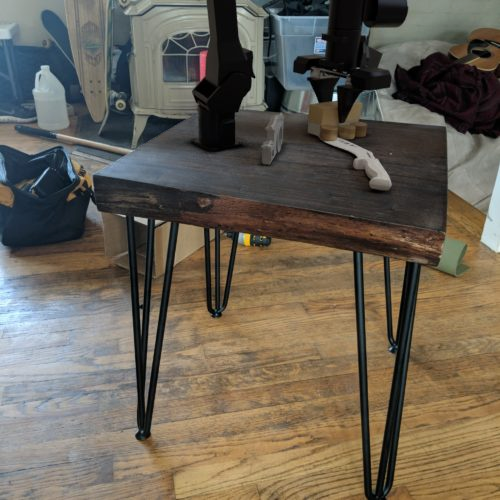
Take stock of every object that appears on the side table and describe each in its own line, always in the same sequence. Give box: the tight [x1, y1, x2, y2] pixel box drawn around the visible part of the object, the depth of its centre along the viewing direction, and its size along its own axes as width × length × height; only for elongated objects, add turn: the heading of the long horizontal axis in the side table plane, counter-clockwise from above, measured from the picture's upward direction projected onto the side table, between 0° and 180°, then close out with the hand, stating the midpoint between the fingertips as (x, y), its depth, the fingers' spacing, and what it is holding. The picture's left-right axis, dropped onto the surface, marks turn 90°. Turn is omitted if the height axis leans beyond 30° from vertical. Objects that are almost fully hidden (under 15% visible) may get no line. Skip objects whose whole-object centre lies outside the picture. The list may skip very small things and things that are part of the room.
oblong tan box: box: [307, 100, 363, 137], centre depth 94 cm, size 4×10×5 cm, turn 127°
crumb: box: [350, 121, 368, 138], centre depth 95 cm, size 3×3×2 cm
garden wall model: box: [260, 112, 286, 166], centre depth 82 cm, size 12×2×6 cm, turn 167°
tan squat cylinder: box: [319, 125, 338, 141], centre depth 90 cm, size 3×3×2 cm
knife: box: [317, 136, 392, 191], centre depth 83 cm, size 30×2×8 cm
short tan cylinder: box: [337, 124, 356, 140], centre depth 93 cm, size 3×3×2 cm
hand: (334, 120), depth 94 cm, fingers closed on oblong tan box, 3 cm apart
